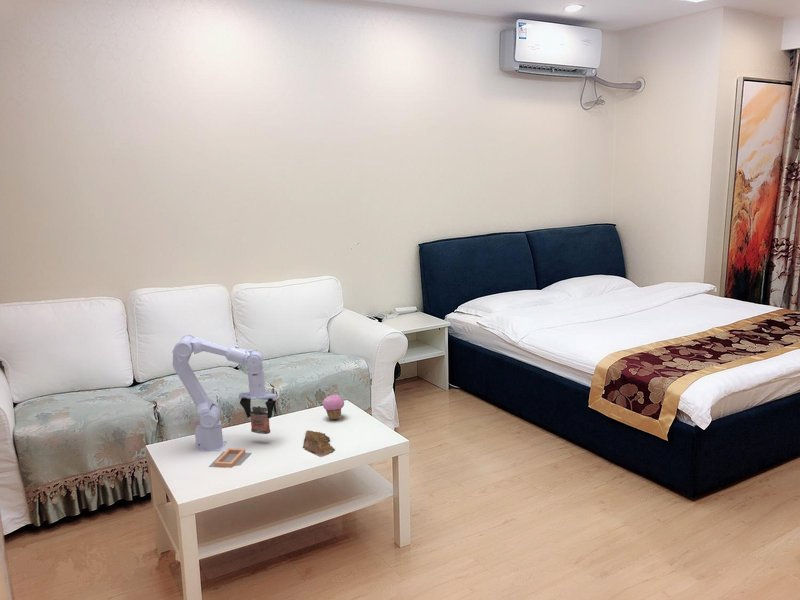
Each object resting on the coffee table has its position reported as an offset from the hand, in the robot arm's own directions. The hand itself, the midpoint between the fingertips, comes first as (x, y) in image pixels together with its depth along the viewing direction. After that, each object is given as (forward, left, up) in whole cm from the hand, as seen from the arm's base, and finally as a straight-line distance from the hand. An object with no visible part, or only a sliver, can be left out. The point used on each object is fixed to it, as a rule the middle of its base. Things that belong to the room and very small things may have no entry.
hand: (259, 417), depth 233 cm
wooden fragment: (+25, +4, -12) cm, 28 cm away
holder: (-5, -16, -11) cm, 20 cm away
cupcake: (+22, +26, -11) cm, 36 cm away
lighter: (0, 0, -6) cm, 6 cm away
